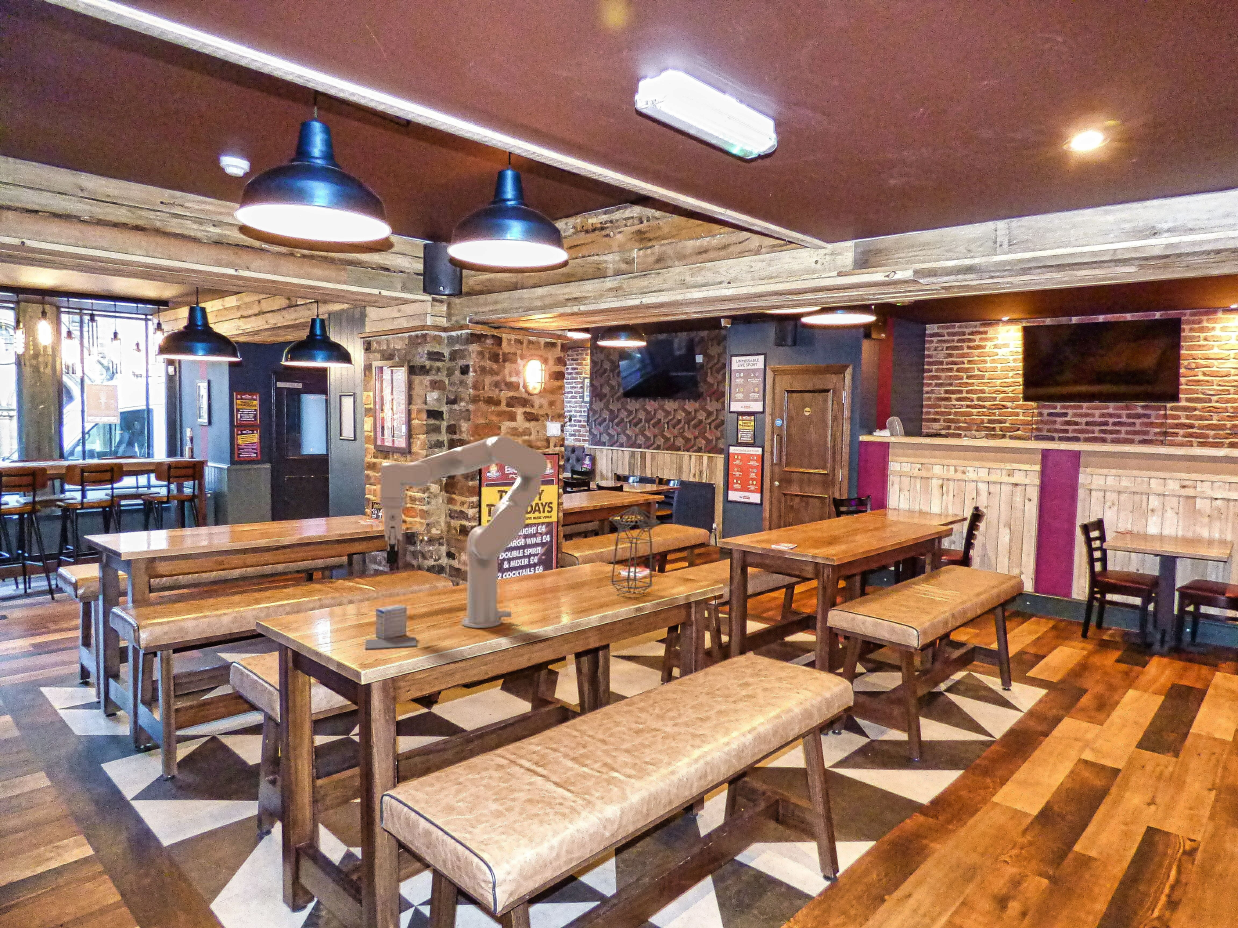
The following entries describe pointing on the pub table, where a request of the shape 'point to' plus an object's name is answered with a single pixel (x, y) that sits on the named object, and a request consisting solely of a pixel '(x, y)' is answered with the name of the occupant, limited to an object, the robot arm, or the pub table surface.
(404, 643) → the charcoal mat
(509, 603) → the pub table surface
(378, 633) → the medicine box
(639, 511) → the geometric lantern
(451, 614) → the pub table surface
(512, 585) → the pub table surface
